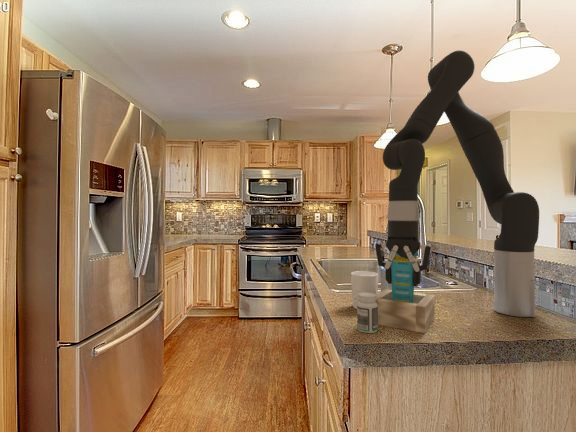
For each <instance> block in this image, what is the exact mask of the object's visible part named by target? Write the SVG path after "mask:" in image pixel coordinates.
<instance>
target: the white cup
mask: <svg viewBox="0 0 576 432" xmlns="http://www.w3.org/2000/svg"><path fill="white" fill-rule="evenodd" d="M350 283H351V285H350V287H351V298H352V307H353V308H354V309H355V310H357V303H358V302H359V294H360V293H373V294H375V295H377V294H378V293H379V292H378V291H379V289H378V288H379V273H378V272H374V271H370V270H369V271H368V270H367V271H366V270H365V271H364V270H357V271H352V272H351V273H350Z"/></svg>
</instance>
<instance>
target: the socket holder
mask: <svg viewBox="0 0 576 432" xmlns="http://www.w3.org/2000/svg"><path fill="white" fill-rule="evenodd" d="M435 298H436V297H435V295H434V294H427V293H426V294H424V293H419V292H417V293H416V292H414V295H413V303H408V302H401V301H394V300H392V290H387V289H385V290H383V291H382V292H381V291H380V292H378V293H377V295H376V301H375V302H376V303H377V305H378V326H384V327H388V328H393V329H394V328H395V329H401V330H406V331H410V332H411V331H412V332H417V333H423V334H426V333H427V330H429V328H430V326H431V324H432V323H433V321H434V320H435V318H436V317H435V314H436V313H435V312H436V311H435V310H436V309H435V307H436V306H435V303H436V300H435Z"/></svg>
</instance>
